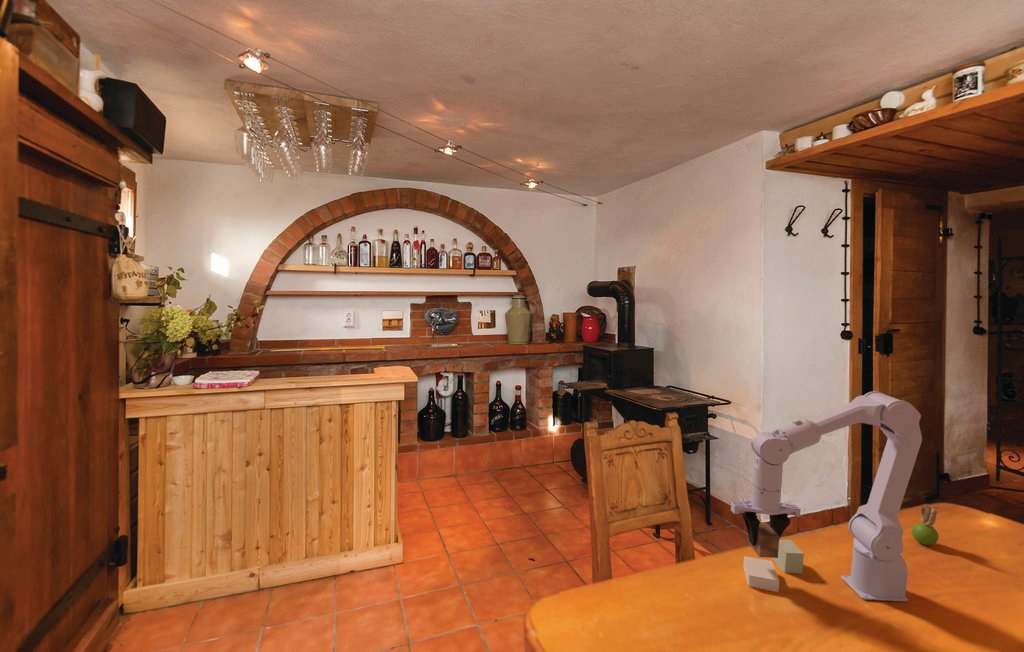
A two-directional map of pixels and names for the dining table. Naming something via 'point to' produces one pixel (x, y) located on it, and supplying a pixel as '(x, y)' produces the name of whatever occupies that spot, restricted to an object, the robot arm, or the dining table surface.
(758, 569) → the pale grey brick
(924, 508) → the green egg with ears
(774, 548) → the walnut brick
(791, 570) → the sage brick
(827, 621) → the dining table surface
